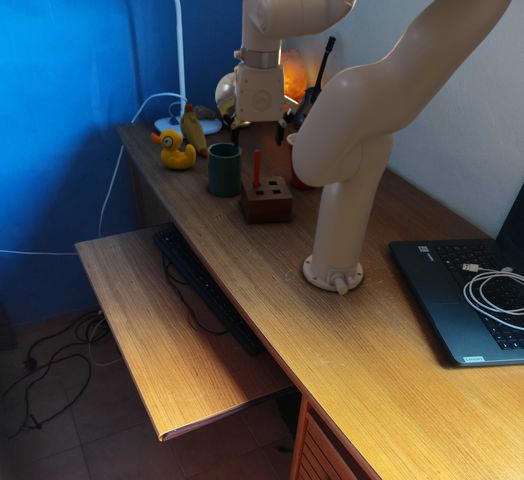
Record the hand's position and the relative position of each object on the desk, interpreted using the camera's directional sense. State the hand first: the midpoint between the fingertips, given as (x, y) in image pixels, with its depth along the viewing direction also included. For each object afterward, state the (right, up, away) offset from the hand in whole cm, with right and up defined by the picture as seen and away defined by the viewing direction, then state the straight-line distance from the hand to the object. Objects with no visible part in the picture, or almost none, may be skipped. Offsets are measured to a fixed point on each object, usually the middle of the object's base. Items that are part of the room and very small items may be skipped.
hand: (256, 144), depth 104 cm
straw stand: (+2, -12, +10) cm, 16 cm away
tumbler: (-8, -4, +17) cm, 19 cm away
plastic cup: (+12, -2, +20) cm, 24 cm away
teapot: (-7, +27, +46) cm, 54 cm away
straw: (-1, -11, +11) cm, 15 cm away
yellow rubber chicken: (-19, +14, +33) cm, 40 cm away
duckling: (-22, +4, +23) cm, 32 cm away
